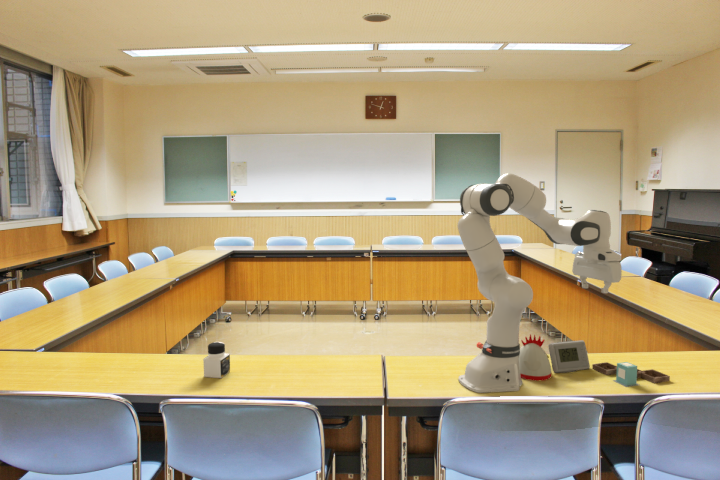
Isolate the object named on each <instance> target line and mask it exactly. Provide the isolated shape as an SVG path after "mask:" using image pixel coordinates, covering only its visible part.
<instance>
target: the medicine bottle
mask: <svg viewBox="0 0 720 480" xmlns="http://www.w3.org/2000/svg"><path fill="white" fill-rule="evenodd" d="M225 345H226V344H225V343H224V342H222V341H214V342H210V343H209V344H208V345H207V356H206V357H204V358H203V359H202V360H203V362H202V363H203V377H204V378H211V379H212V378H213V379H222V378H224V377H225V376H226V375H228V373H230V372H231V357H230V355H231V353H226V347H225Z"/></svg>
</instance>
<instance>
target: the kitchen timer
mask: <svg viewBox="0 0 720 480" xmlns="http://www.w3.org/2000/svg"><path fill="white" fill-rule="evenodd" d="M521 343H522V346H520V354H519V368H520V374H521V379H522V380H523V379H524V380H529V381H535V380H536V381H537V382H540V381H539V380H541V381H546V379H547V380H549V378H550V377H551V378H552V365H551V364H550V363H551V361H550V355H549V354H547V353H546V351H545V350H544V349H543V347H542V346H543V344H544V343H545V339H541V335H539V336H538V338H536V335H535V334H534V336H533V339H532V334H531V333H530V334H529V338H528V337H527V336H525V342H524V340H523V339H521ZM536 381H535V382H536Z"/></svg>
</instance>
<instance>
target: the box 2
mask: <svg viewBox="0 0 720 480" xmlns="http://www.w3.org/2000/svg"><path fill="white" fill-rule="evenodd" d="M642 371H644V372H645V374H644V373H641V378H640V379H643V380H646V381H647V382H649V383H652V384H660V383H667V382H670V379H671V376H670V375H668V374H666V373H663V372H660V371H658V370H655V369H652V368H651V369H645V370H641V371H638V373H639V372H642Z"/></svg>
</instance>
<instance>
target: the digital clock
mask: <svg viewBox="0 0 720 480" xmlns="http://www.w3.org/2000/svg"><path fill="white" fill-rule="evenodd" d="M547 348H548V352H549V359H550V363H551V370H552V372H554V373H556V374H560V373H562V374H565V373H573V372H577V371H583V370H590V368H591V367H590V365H591V364H590V361H589V356H588V351H587V346H586V343H585V340H583V339H581V340H568V341H567V340H566V341H557V342H551V343H549V344H548V347H547Z"/></svg>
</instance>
